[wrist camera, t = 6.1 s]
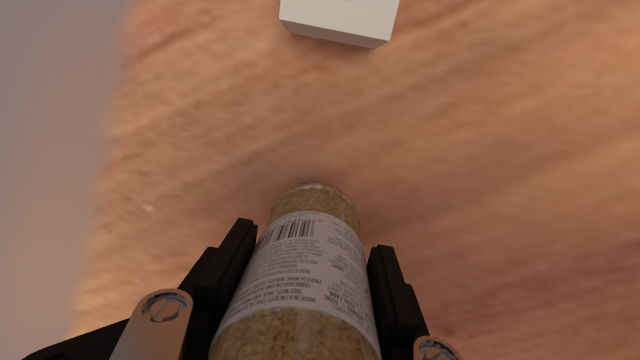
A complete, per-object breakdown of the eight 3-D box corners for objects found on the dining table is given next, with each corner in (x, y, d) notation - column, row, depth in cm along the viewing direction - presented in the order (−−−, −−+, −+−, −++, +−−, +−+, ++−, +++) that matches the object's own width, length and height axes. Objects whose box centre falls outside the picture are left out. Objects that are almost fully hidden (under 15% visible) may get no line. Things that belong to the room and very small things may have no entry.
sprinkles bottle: (280, 264, 16) (89, 929, 4) (262, 184, 15) (-162, 828, 2) (365, 255, 16) (489, 972, 3) (355, 172, 14) (505, 881, 2)
